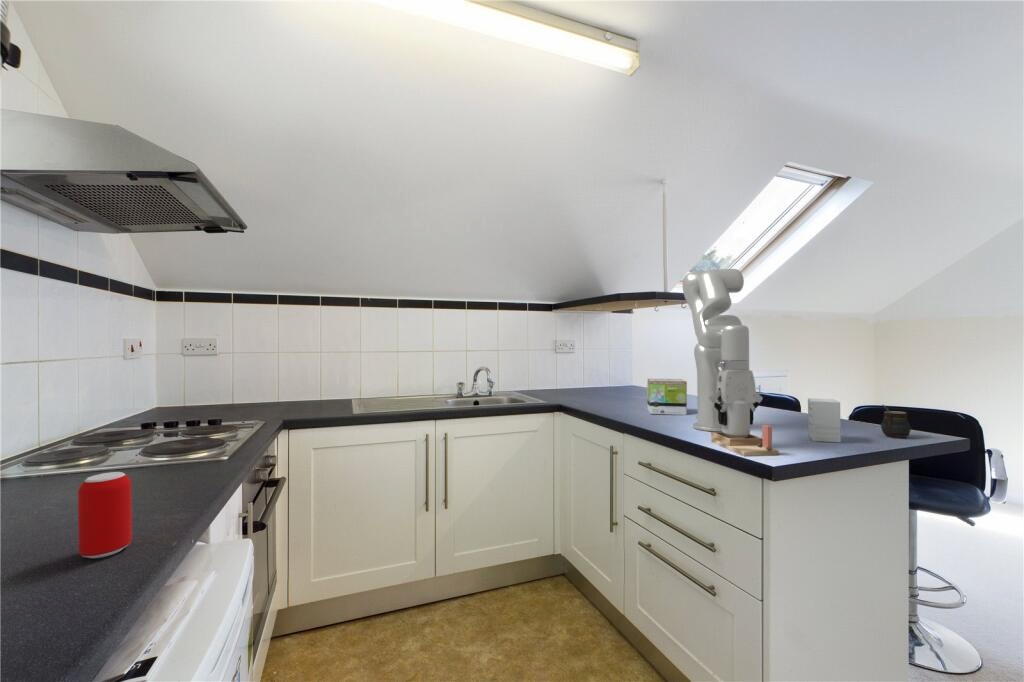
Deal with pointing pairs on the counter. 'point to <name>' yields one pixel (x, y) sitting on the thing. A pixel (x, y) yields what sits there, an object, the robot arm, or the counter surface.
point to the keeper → (766, 436)
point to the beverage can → (104, 514)
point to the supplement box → (824, 420)
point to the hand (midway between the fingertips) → (735, 423)
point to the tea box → (667, 396)
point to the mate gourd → (895, 424)
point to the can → (737, 419)
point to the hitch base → (743, 444)
